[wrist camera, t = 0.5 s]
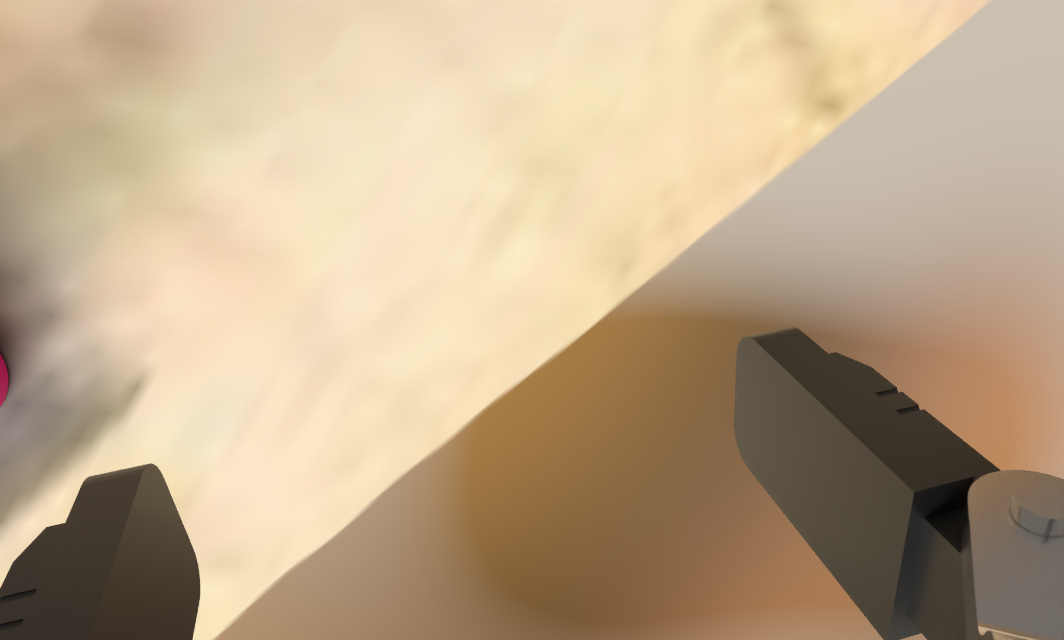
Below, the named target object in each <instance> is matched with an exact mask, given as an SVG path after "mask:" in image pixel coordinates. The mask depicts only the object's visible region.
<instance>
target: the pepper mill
mask: <svg viewBox="0 0 1064 640" xmlns="http://www.w3.org/2000/svg"><path fill="white" fill-rule="evenodd" d="M8 385H9V383H8V372H7V368H6V365H5V362H4V360H3V358H2V356H1V354H0V407H1V405H2V404H3V402H4V400H5V398H6V395H7V391H8Z"/></svg>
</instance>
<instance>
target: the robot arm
mask: <svg viewBox="0 0 1064 640" xmlns="http://www.w3.org/2000/svg"><path fill="white" fill-rule="evenodd" d="M734 428H735V437H736V441H737V445H738V448H739V451H740V454H741V456H742V458H743V460H744V462H745V464H746V466H747V467H748V468H749V470H750V471H751V472H752V474H753V475H754V476H755V477H756V479H757V480H758V481H759V482H760V484H761V485H762V486H763V487H764V489H765V490H766V491H767V492H768V494H769V495H770V496H771V497H772V499H773V500H774V501H775V503H776V504H777V505H778V506H779V508H780V509H781V510H782V512H783V513H784V514H785V515H786V517H787V518H788V519H789V520H790V522H791V523H792V524H793V525H794V527H795V528H796V529H797V530H798V532H799V533H800V534H801V536H802V537H803V538H804V539H805V541H806V542H807V543H808V544H809V546H810V547H811V548H812V549H813V551H814V552H815V553H816V554H817V556H818V557H819V558H820V560H821V561H822V562H823V563H824V565H825V566H826V567H827V568H828V570H829V571H830V572H831V573H832V575H833V576H834V577H835V579H836V580H837V581H838V582H839V584H840V585H841V586H842V587H843V589H844V590H845V591H846V592H847V594H848V595H849V596H850V598H851V599H852V600H853V601H854V602H855V604H856V605H857V606H858V608H859V609H860V610H861V611H862V613H863V614H864V615H865V616H866V618H867V619H868V620H869V622H870V623H871V624H872V625H873V627H874V628H875V629H876V630H877V632H878V633H879V634H880V636H881V637H882V638H883V639H884V640H900V639H903V638H906V637H910V636H913V635H917V634H920V633H922V634H923V635H924V636H925V638H926V639H927V640H1064V479H1061V478H1058V477H1054V476H1051V475H1048V474H1044V473H1039V472H1034V471H1025V470H1004V471H1001V470H999V469H998V468H997V467H996V466H994V465H993V464H992V463H991V462H989V461H988V460H987V459H986V458H984V457H983V456H982V455H980V454H979V453H978V452H977V451H976V450H974V449H973V448H972V447H970V446H969V445H968V444H967V443H966V442H964V441H963V440H962V439H961V438H959V437H958V436H957V435H956V434H954V433H953V432H952V431H951V430H949V429H948V428H947V427H946V426H944V425H943V424H942V423H941V422H939V421H938V420H937V419H936V418H934V417H933V416H932V415H931V414H929V413H928V412H927V411H925V410H920V409H919V405H918V404H917V403H915V402H914V401H913V400H912V399H910V398H909V397H908V396H907V395H905V394H904V393H903V392H900V393H898V391H897V387H895V386H894V385H893V384H892V383H890V382H889V381H888V380H887V379H885V378H884V377H883V376H882V375H880V374H879V373H878V372H876V371H875V370H874V369H873V368H871V367H870V366H867V365H865V364H862V363H860V362H858V361H855V360H853V359H851V358H848V357H846V356H844V355H841V354H839V353H836V352H835V353H830V354H828V353H827V352H825V351H824V350H823V349H822V348H821V347H820V346H818V345H817V344H816V343H815V342H814V341H812V340H811V339H810V338H809V337H808V336H807V335H805V334H804V333H803V332H801V331H800V330H799V329H797V328H795V327H789V328H784V329H780V330H775V331H770V332H766V333H761V334H756V335H752V336H747V337H744V338H742V339H741V341H740V342H739V344H738V348H737V360H736V389H735V417H734ZM199 600H200V576H199V569H198V563H197V559H196V555H195V552H194V550H193V547H192V545H191V542H190V540H189V537H188V535H187V533H186V530H185V528H184V525H183V523H182V521H181V518H180V516H179V513H178V511H177V508H176V506H175V504H174V501H173V499H172V496H171V494H170V492H169V489H168V487H167V484H166V482H165V480H164V477H163V475H162V473H161V472H160V470H159V469H158V467H157V466H155V465H154V464H146V465H141V466H137V467H132V468H127V469H123V470H118V471H113V472H109V473H104V474H100V475H95V476H90V477H88V478H86V480H85V481H84V482H83V484H82V486H81V488H80V490H79V493H78V495H77V497H76V500H75V502H74V504H73V507H72V509H71V511H70V514H69V516H68V518H67V520H66V523H63V524H59V525H54V526H50V527H46V528H45V529H44V530H43V531H42V533H41V534H40V535H39V536H38V537H37V538H36V539H35V540H34V541H33V542H32V543H31V544H30V545H29V546H28V547H27V548H26V549H25V550H24V551H23V552H22V553H21V554H20V555H19V556H18V558H17V559H16V560H15V561H14V562H13V563H12V566H11V568H10V570H9V572H8V574H7V576H6V578H5V580H4V582H3V584H2V586H1V588H0V640H192V639H193V633H194V628H195V623H196V617H197V612H198V606H199Z"/></svg>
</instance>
